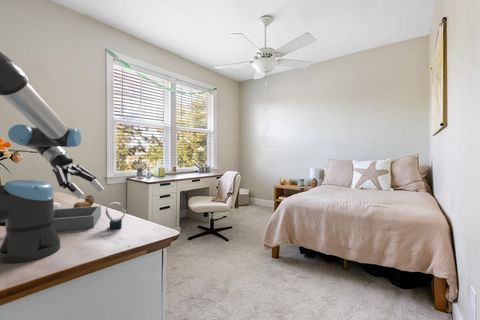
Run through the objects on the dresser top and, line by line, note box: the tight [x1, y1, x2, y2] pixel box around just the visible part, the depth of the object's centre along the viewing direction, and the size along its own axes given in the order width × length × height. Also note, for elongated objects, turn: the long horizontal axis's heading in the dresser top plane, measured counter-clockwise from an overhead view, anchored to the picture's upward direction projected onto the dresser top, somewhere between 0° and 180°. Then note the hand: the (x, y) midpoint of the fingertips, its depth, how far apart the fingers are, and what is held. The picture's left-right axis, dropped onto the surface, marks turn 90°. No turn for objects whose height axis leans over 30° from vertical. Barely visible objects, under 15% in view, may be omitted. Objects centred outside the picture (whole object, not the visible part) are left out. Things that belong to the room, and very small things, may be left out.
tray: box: [54, 205, 102, 232], centre depth 108 cm, size 20×20×5 cm
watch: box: [105, 201, 127, 231], centre depth 103 cm, size 6×8×11 cm
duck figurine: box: [53, 201, 62, 209], centre depth 123 cm, size 12×8×11 cm
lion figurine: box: [72, 194, 95, 208], centre depth 125 cm, size 15×5×9 cm, turn 178°
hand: (92, 193), depth 104 cm, fingers open, 13 cm apart
